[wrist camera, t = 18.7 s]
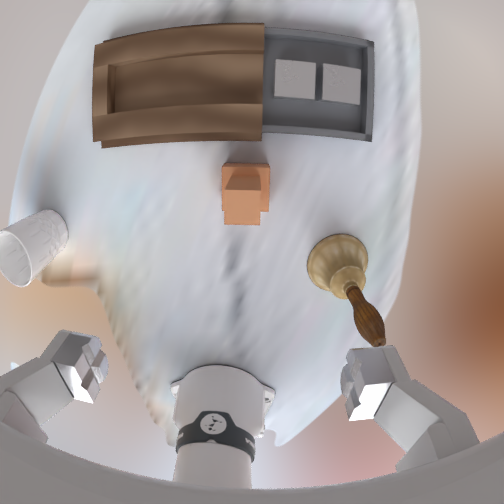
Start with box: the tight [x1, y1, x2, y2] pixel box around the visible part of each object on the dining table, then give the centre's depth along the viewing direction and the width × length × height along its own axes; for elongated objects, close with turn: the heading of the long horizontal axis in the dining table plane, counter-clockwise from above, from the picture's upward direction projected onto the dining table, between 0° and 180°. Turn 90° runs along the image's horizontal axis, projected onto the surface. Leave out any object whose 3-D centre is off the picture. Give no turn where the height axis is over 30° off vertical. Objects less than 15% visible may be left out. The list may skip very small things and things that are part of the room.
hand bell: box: [307, 234, 386, 347], centre depth 30 cm, size 8×8×16 cm
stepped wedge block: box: [222, 163, 270, 225], centre depth 29 cm, size 5×5×10 cm
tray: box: [262, 27, 374, 142], centre depth 27 cm, size 12×12×2 cm
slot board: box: [92, 23, 264, 148], centre depth 27 cm, size 14×19×3 cm
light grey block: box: [273, 59, 316, 101], centre depth 26 cm, size 4×4×3 cm
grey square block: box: [316, 63, 361, 106], centre depth 26 cm, size 4×4×3 cm
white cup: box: [0, 209, 68, 287], centre depth 32 cm, size 8×8×10 cm
